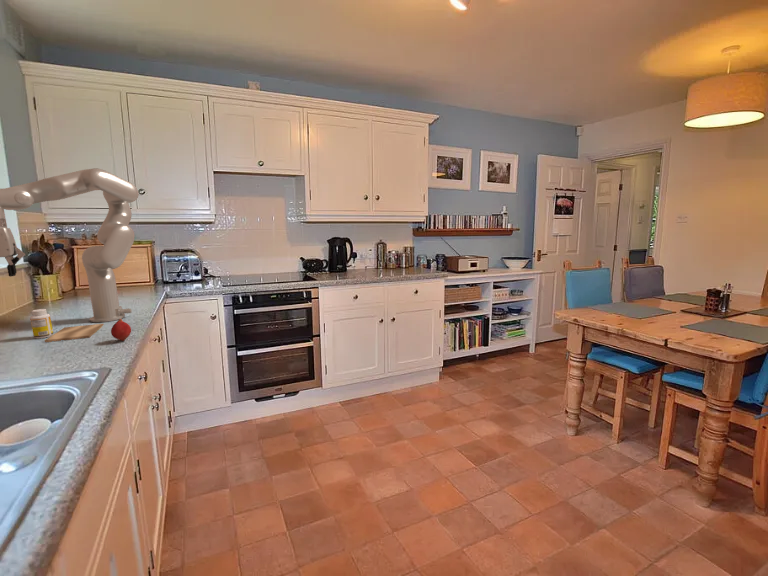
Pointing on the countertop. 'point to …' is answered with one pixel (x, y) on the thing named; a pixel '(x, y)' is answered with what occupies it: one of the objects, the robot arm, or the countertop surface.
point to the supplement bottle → (41, 324)
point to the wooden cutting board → (75, 332)
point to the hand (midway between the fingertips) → (1, 276)
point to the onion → (120, 330)
